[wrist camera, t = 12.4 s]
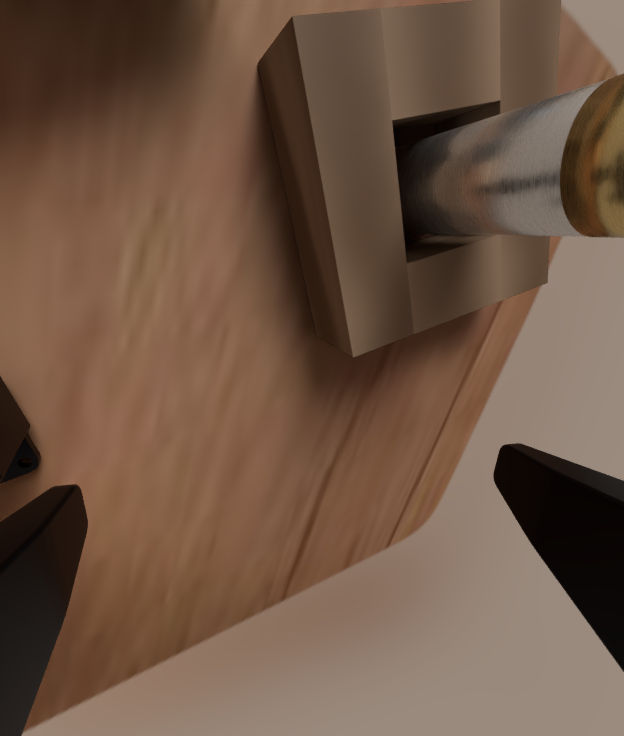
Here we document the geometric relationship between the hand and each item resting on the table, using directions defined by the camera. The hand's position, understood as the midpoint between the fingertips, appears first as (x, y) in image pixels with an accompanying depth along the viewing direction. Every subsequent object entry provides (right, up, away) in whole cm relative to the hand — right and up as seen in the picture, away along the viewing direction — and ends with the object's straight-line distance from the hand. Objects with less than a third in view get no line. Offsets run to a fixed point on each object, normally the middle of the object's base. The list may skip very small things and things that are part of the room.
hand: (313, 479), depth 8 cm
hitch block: (+4, +11, +12) cm, 17 cm away
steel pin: (+4, +11, +12) cm, 17 cm away
